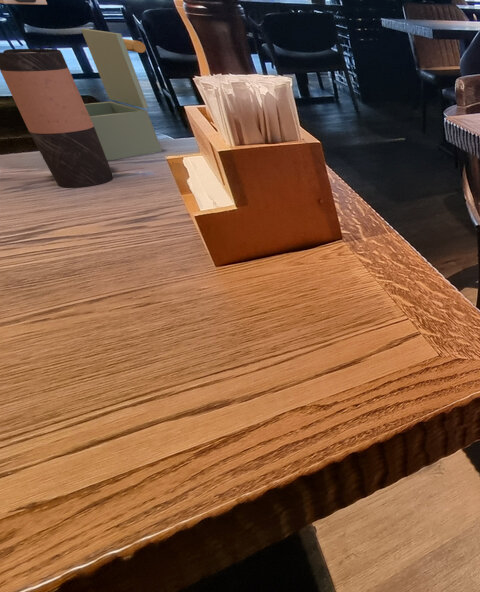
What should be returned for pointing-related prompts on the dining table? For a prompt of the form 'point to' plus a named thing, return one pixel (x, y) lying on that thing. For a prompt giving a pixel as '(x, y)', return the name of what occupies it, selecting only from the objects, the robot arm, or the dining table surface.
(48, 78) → the travel mug
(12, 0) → the block
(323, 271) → the dining table surface
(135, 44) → the lid
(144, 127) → the chest
